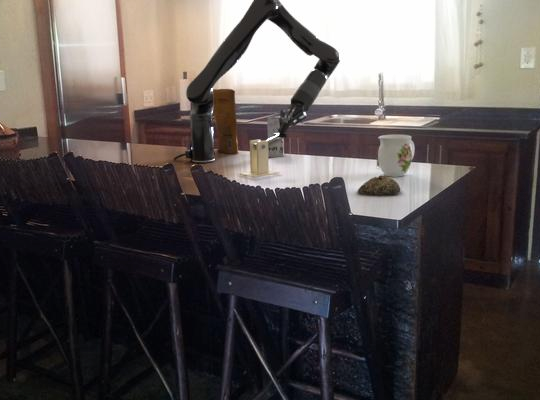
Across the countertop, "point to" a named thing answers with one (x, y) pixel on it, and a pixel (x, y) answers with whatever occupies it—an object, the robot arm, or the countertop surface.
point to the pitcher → (395, 154)
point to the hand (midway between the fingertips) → (280, 133)
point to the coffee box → (277, 145)
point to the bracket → (259, 159)
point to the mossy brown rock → (380, 186)
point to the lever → (273, 138)
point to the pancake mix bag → (225, 120)
